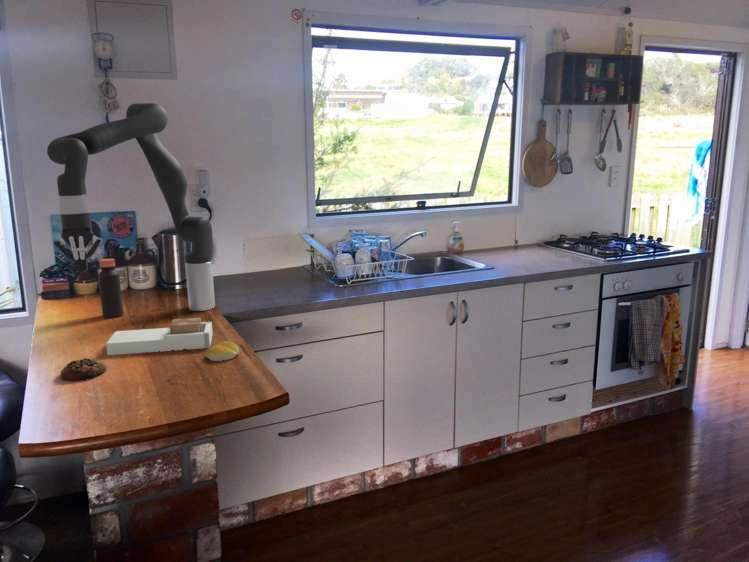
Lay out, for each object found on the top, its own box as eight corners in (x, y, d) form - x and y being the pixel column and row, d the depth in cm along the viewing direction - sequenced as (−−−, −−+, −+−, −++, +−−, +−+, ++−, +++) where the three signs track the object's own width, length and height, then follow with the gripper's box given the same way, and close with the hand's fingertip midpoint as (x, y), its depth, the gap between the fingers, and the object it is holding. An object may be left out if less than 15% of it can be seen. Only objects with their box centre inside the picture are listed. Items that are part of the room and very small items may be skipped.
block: (173, 319, 186) (200, 317, 187) (175, 340, 187) (202, 338, 188) (170, 325, 179) (198, 323, 181) (172, 346, 181) (200, 344, 182)
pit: (171, 338, 190) (170, 324, 189) (212, 335, 192) (211, 321, 191) (166, 351, 178) (164, 336, 177) (209, 347, 180) (208, 333, 179)
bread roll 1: (71, 385, 154) (68, 365, 153) (54, 380, 161) (51, 361, 161) (114, 374, 162) (112, 355, 161) (96, 370, 169) (93, 352, 169)
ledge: (116, 342, 187) (115, 331, 186) (171, 338, 190) (170, 327, 189) (107, 355, 175) (106, 343, 175) (166, 351, 178) (165, 339, 177)
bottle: (116, 318, 213) (109, 261, 208) (98, 318, 214) (91, 261, 210) (127, 313, 219) (121, 258, 215) (110, 312, 221) (104, 257, 216)
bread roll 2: (200, 360, 170) (199, 346, 169) (220, 350, 178) (219, 337, 178) (226, 363, 167) (225, 349, 166) (244, 353, 175) (243, 339, 175)
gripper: (103, 209, 177) (110, 268, 181) (53, 211, 175) (61, 270, 179) (96, 211, 170) (103, 273, 174) (45, 213, 168) (53, 276, 172)
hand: (82, 272), depth 176 cm, fingers closed
